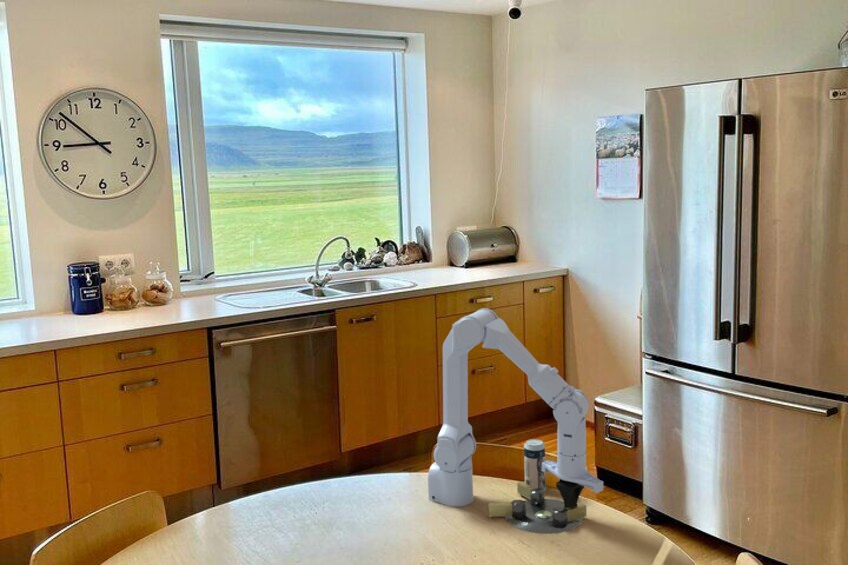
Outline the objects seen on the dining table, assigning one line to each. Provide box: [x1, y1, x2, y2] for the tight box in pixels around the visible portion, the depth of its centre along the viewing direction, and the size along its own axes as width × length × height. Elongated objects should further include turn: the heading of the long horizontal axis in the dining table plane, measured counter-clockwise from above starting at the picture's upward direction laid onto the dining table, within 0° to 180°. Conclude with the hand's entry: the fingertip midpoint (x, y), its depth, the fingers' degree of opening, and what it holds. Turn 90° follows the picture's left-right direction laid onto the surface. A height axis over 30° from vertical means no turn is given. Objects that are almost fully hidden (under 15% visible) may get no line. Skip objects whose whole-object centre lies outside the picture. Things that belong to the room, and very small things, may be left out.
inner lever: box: [487, 499, 526, 519], centre depth 158 cm, size 8×3×3 cm, turn 92°
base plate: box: [504, 498, 584, 535], centre depth 159 cm, size 16×16×2 cm
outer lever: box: [552, 502, 587, 527], centre depth 155 cm, size 8×3×3 cm, turn 116°
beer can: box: [523, 438, 547, 492], centre depth 171 cm, size 5×5×12 cm
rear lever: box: [516, 481, 546, 507], centre depth 166 cm, size 8×3×3 cm, turn 30°
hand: (571, 514), depth 157 cm, fingers closed, pressing on outer lever
